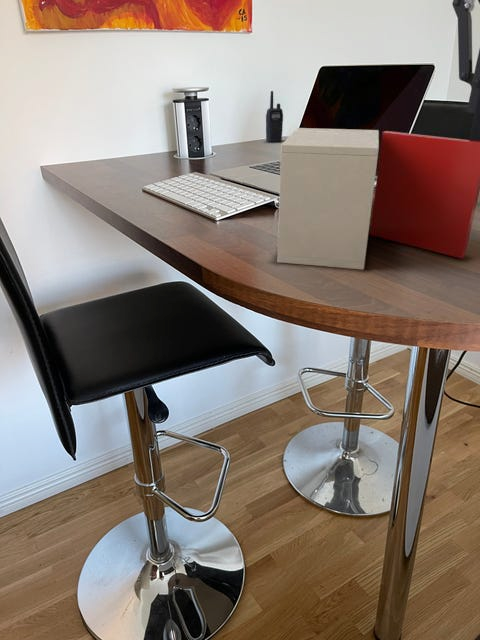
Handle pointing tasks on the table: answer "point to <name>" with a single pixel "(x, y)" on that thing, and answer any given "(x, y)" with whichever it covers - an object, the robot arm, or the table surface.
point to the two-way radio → (274, 122)
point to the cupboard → (326, 196)
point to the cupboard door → (426, 191)
